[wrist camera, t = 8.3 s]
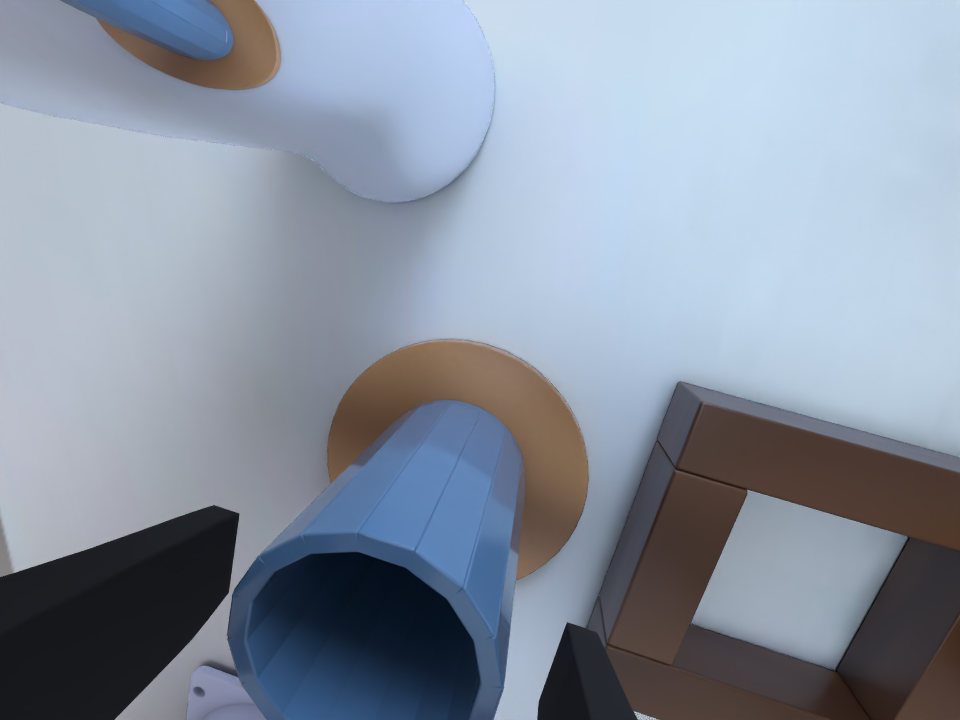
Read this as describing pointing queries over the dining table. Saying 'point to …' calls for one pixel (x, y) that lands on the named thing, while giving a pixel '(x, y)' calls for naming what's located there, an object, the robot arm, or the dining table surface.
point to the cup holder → (703, 534)
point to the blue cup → (392, 580)
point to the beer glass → (268, 79)
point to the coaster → (501, 392)
